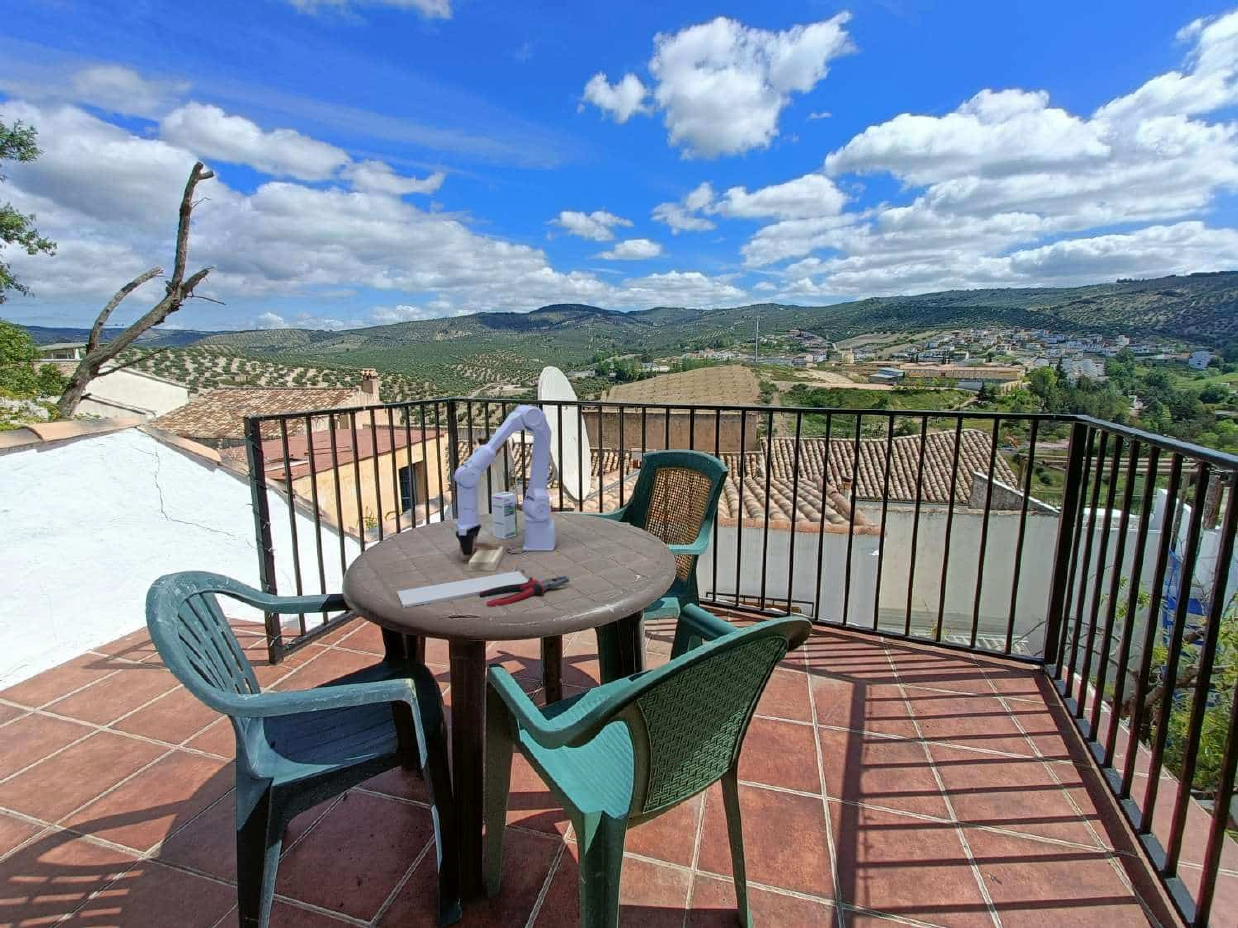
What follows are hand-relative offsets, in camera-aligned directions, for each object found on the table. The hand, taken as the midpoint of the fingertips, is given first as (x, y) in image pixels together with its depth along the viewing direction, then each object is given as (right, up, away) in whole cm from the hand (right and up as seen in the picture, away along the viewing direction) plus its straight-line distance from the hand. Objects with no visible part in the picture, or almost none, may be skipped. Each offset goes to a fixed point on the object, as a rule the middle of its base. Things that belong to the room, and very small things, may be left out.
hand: (469, 552), depth 168 cm
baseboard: (+5, -6, -23) cm, 25 cm away
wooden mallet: (+3, -2, 0) cm, 4 cm away
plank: (+6, -2, -4) cm, 8 cm away
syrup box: (+6, +2, +22) cm, 23 cm away
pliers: (+21, -7, -26) cm, 34 cm away
